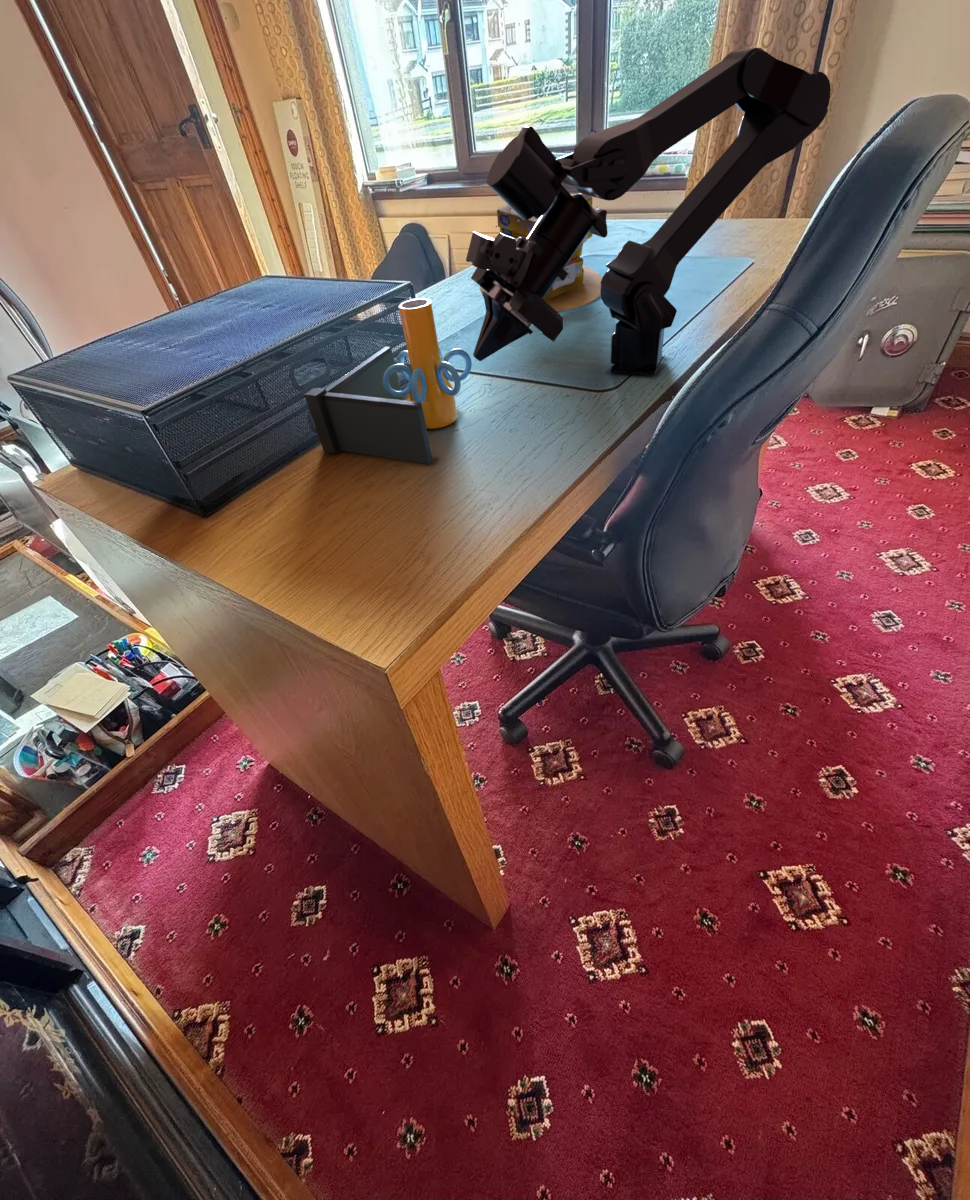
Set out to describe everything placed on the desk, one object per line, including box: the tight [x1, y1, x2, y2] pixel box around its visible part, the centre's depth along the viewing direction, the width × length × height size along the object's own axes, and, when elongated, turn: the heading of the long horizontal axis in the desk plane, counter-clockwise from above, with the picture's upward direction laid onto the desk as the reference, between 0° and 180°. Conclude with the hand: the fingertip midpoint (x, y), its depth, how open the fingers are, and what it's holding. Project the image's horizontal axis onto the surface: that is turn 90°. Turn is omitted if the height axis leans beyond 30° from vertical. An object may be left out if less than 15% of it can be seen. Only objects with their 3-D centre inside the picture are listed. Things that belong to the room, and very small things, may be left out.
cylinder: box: [383, 297, 473, 430], centre depth 73 cm, size 12×10×15 cm
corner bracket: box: [303, 346, 434, 465], centre depth 75 cm, size 16×17×8 cm
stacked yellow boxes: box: [479, 191, 603, 312], centre depth 108 cm, size 25×25×17 cm
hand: (476, 358), depth 75 cm, fingers closed
